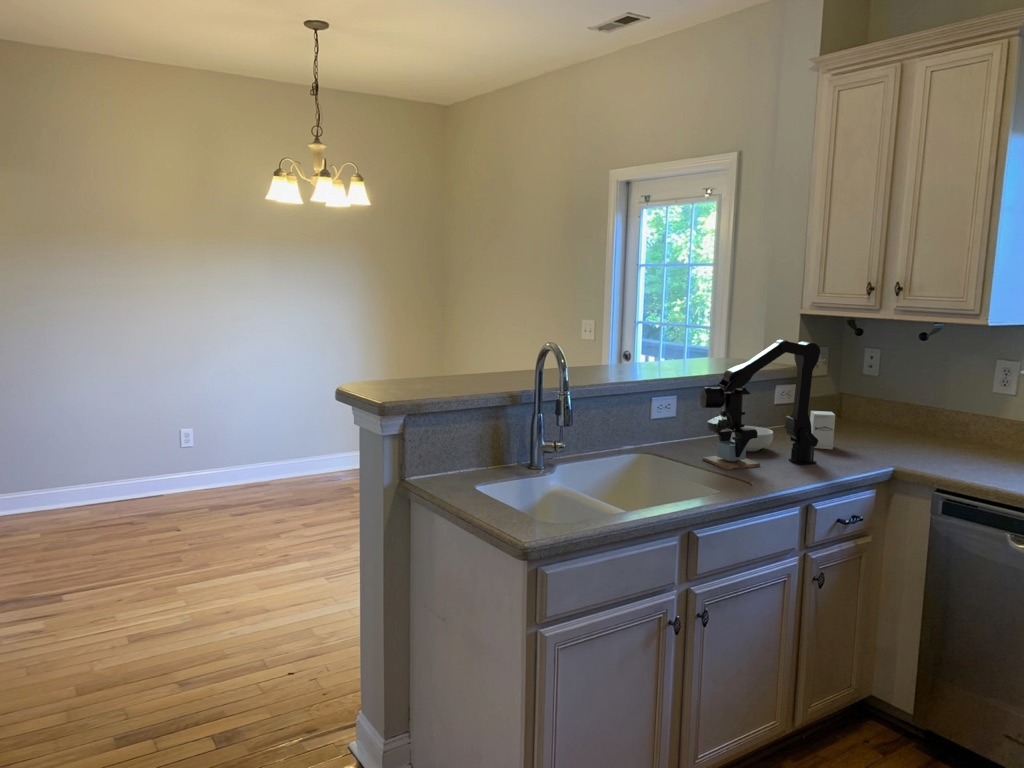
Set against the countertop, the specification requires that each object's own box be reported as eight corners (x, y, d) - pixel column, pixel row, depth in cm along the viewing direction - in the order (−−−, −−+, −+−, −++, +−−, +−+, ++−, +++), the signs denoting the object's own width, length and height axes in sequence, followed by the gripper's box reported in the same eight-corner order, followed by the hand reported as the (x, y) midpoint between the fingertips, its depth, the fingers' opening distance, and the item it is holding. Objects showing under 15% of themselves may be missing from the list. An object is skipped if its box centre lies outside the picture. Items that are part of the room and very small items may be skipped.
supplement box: (811, 448, 269) (813, 413, 267) (808, 444, 276) (810, 410, 274) (833, 449, 267) (835, 414, 266) (829, 445, 275) (832, 411, 273)
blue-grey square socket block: (717, 456, 249) (717, 441, 248) (733, 454, 251) (733, 440, 251) (728, 460, 243) (729, 445, 242) (745, 459, 245) (746, 444, 245)
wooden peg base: (735, 457, 256) (735, 441, 255) (759, 466, 244) (760, 449, 243) (702, 460, 251) (702, 444, 251) (726, 469, 239) (726, 452, 238)
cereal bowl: (775, 455, 258) (776, 435, 257) (725, 453, 262) (726, 433, 261) (769, 445, 275) (770, 425, 274) (721, 442, 278) (722, 423, 277)
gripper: (695, 404, 251) (693, 450, 253) (730, 414, 233) (727, 463, 236) (724, 402, 255) (721, 448, 257) (759, 412, 237) (757, 460, 239)
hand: (731, 454), depth 247 cm, fingers closed on blue-grey square socket block, 6 cm apart
